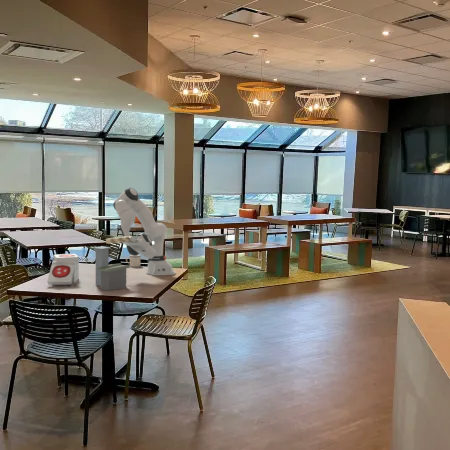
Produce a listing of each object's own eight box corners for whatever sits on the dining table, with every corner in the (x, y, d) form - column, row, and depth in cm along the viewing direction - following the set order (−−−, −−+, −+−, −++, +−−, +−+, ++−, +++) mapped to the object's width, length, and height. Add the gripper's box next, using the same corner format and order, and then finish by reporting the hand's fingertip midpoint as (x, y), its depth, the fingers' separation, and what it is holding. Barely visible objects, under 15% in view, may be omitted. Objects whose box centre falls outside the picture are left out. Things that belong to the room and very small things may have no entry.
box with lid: (119, 284, 345) (119, 263, 344) (129, 286, 340) (129, 264, 339) (97, 289, 328) (97, 267, 327) (107, 291, 323) (107, 269, 322)
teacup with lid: (141, 265, 423) (141, 251, 422) (139, 267, 414) (139, 253, 412) (126, 265, 422) (126, 251, 421) (125, 266, 413) (125, 252, 412)
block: (130, 240, 346) (130, 235, 346) (133, 240, 345) (133, 236, 344) (106, 243, 328) (106, 238, 328) (109, 243, 327) (109, 239, 326)
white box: (44, 287, 332) (44, 260, 331) (55, 278, 362) (55, 253, 360) (73, 287, 334) (73, 260, 332) (82, 278, 364) (82, 253, 362)
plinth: (102, 283, 349) (102, 246, 346) (110, 284, 344) (110, 247, 342) (93, 285, 342) (93, 247, 340) (101, 286, 338) (101, 248, 335)
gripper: (130, 240, 359) (118, 232, 349) (151, 243, 348) (139, 234, 337) (127, 248, 357) (114, 240, 347) (148, 251, 346) (136, 243, 335)
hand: (127, 237), depth 342 cm, fingers closed on block, 3 cm apart
